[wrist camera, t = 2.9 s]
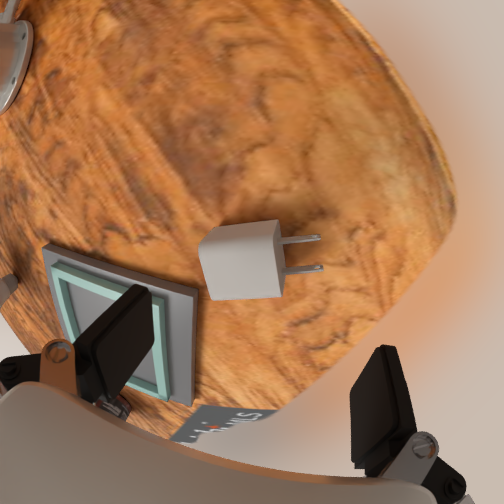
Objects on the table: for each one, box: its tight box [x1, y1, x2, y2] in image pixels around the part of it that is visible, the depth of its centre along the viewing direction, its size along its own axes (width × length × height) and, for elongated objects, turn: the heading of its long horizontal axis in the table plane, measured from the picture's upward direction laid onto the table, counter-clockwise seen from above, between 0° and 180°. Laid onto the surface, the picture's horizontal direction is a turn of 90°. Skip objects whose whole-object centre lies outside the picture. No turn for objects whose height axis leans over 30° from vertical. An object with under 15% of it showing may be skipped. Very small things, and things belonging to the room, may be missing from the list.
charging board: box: [42, 244, 199, 407], centre depth 25 cm, size 16×18×2 cm
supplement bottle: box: [95, 394, 131, 421], centre depth 28 cm, size 6×6×11 cm
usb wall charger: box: [198, 219, 323, 300], centre depth 17 cm, size 4×7×4 cm, turn 101°
